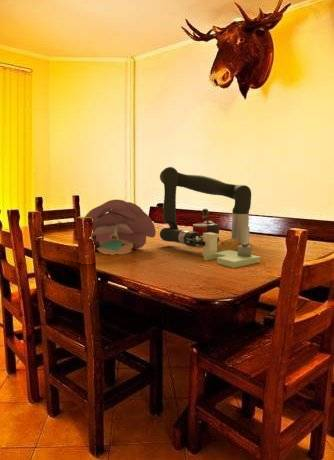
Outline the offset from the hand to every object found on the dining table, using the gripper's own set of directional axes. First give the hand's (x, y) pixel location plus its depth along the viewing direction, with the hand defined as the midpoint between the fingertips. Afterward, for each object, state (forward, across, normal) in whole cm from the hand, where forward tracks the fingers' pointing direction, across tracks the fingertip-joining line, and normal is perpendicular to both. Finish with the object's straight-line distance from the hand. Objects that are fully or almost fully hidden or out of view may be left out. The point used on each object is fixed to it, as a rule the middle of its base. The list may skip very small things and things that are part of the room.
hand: (211, 242), depth 168 cm
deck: (+12, +1, +6) cm, 14 cm away
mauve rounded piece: (-38, -30, +7) cm, 49 cm away
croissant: (-5, +17, +7) cm, 19 cm away
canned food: (-28, +18, +7) cm, 34 cm away
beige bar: (-1, 0, +7) cm, 7 cm away
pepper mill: (-40, +34, +7) cm, 53 cm away
